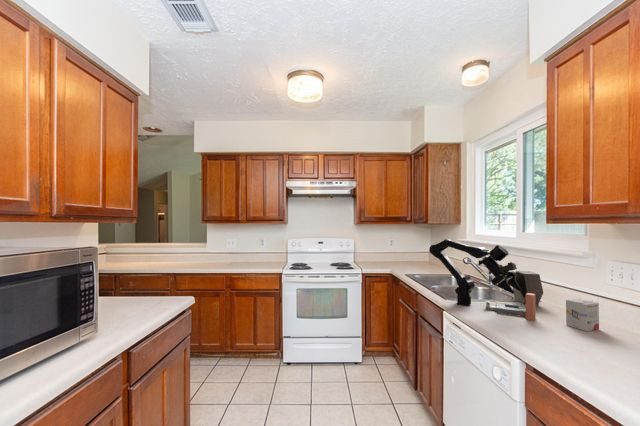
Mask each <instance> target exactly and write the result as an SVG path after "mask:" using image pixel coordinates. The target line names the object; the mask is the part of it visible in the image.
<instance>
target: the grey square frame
mask: <svg viewBox="0 0 640 426" xmlns="http://www.w3.org/2000/svg"><path fill="white" fill-rule="evenodd" d="M495 307H497V311H496V313H497V314H501V313H502V315H503V314H504V315H511V316H517V317H525V318H526V304H522V303H513V302H512V303H511V302H503V301H495Z"/></svg>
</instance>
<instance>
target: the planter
mask: <svg viewBox="0 0 640 426" xmlns="http://www.w3.org/2000/svg"><path fill="white" fill-rule="evenodd" d="M514 272H515V273H516V281H517V283H518V285H519V287H520V288H521V291H518V290H517V289H515V288H513V287H512V289H513V291H514V292H515V293H514V294H513V296H514V300H515V301H517V302H519V304H522V305H526V294H527V293H532V294H536V306H538V305H539V304H540V302H541V299H542V297H543V295H544V289H543V288H544V287H543V285H542V280H541V276H540V273H537V272H534V271H529V270H515V271H514Z"/></svg>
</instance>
